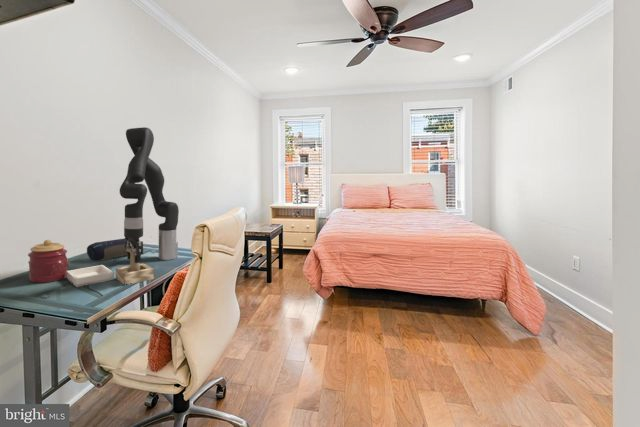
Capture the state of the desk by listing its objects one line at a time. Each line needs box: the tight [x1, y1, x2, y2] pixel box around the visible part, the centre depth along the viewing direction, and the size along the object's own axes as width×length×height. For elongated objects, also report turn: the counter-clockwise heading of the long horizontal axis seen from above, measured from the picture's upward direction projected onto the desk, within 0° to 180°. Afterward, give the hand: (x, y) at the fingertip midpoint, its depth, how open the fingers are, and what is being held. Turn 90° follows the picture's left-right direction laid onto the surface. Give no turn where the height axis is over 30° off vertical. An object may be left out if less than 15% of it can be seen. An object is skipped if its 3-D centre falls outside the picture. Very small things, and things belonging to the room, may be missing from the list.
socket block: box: [115, 263, 155, 286], centre depth 142 cm, size 12×11×5 cm
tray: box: [66, 264, 115, 288], centre depth 138 cm, size 14×14×4 cm
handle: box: [127, 247, 141, 272], centre depth 141 cm, size 5×6×15 cm
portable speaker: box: [86, 237, 127, 261], centre depth 170 cm, size 25×10×10 cm, turn 149°
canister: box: [27, 239, 69, 284], centre depth 134 cm, size 13×13×18 cm
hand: (133, 260), depth 140 cm, fingers open, 8 cm apart
